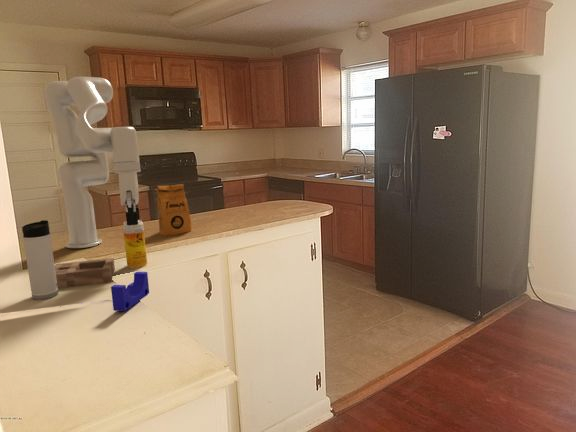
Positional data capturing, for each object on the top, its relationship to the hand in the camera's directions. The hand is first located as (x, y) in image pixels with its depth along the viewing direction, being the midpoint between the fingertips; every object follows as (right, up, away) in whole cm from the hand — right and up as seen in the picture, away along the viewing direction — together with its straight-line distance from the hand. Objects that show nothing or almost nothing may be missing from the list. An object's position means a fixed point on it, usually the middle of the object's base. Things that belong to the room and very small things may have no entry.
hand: (133, 222), depth 142 cm
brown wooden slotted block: (-12, -17, -7) cm, 22 cm away
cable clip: (+8, -20, -27) cm, 34 cm away
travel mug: (-17, -20, -20) cm, 33 cm away
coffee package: (+3, -7, +42) cm, 43 cm away
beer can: (0, -15, +3) cm, 15 cm away
